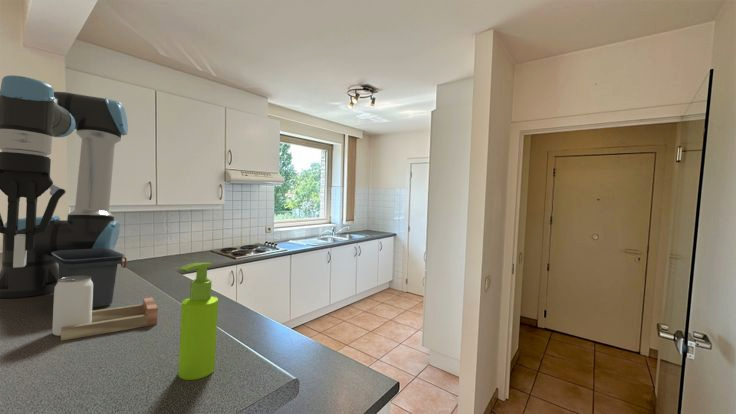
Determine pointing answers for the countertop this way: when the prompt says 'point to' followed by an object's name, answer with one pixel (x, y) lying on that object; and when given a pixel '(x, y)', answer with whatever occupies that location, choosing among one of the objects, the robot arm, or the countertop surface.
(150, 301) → the guide lane
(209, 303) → the soap dispenser
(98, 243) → the robot arm
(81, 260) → the storage bin
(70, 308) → the can
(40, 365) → the countertop surface
